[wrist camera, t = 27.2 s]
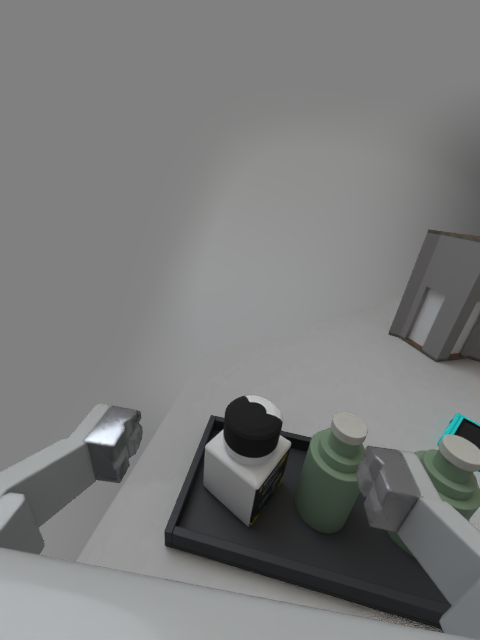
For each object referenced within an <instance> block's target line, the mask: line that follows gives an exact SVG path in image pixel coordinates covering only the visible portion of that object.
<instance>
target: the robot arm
mask: <svg viewBox="0 0 480 640" xmlns="http://www.w3.org/2000/svg"><path fill="white" fill-rule="evenodd" d="M140 419H141V412H140V411H138V410H133V409H128V408H122V407H116V406H110V405H105V404H98V405H96V406H95V407H94V408H93V409H92V410H91V412H90V413H89V414H88V415H87V417H86V418H85V419H84V420H83V421H82V422H81V424H80V425H79V426H78V427H77V428H76V430H75V431H74V432H73V433H72V434H71V436H70V437H69V438H68V439H62V440H60V441H58V442H56V443H55V444H53V445H51V446H49V447H47V448H45V449H43V450H42V451H39V452H38V453H36V454H34V455H32V456H30V457H28V458H27V459H24V460H23V461H21V462H19V463H17V464H15V465H13V466H11V467H9V468H7V469H6V470H4V471H2V472H0V640H480V531H479V530H478V529H477V528H476V527H475V526H473V525H472V524H471V523H470V522H469V521H468V520H467V519H466V518H464V517H463V516H462V515H461V514H460V513H459V512H458V511H457V510H455V509H454V508H453V507H452V506H451V505H450V504H449V503H448V502H443V501H442V500H441V498H440V496H439V494H438V492H437V491H436V489H435V487H434V485H433V483H432V482H431V480H430V478H429V476H428V474H427V472H426V471H425V469H424V467H423V465H422V463H421V462H420V460H419V458H418V456H417V455H416V454H415V453H413V452H406V451H400V450H394V449H387V448H380V447H373V446H367V447H366V448H365V450H364V452H363V454H364V457H365V459H363V460H361V461H360V462H359V464H358V467H357V483H358V487H359V491H360V492H361V493H362V494H363V495H364V497H365V498H366V500H365V502H364V508H365V512H366V515H367V518H368V522H369V525H370V527H375V528H380V529H385V530H390V531H395V532H397V534H398V536H399V537H400V538H401V540H402V541H403V542H404V544H405V545H406V546H407V548H408V549H409V550H410V551H411V553H412V554H413V555H414V557H415V558H416V559H417V561H418V562H419V563H420V565H421V566H422V567H423V569H424V570H425V571H426V573H427V574H428V575H429V577H430V578H431V579H432V581H433V582H434V583H435V585H436V586H437V587H438V589H439V590H440V591H441V592H442V594H443V595H444V596H445V598H446V599H447V600H448V602H449V603H450V604H451V607H450V608H449V609H448V610H447V611H446V612H445V613H444V614H443V615H442V617H441V619H440V621H439V622H440V625H441V628H442V630H443V633H442V632H436V631H431V630H426V629H421V628H416V627H411V626H405V625H400V624H395V623H390V622H385V621H380V620H374V619H369V618H364V617H359V616H354V615H349V614H343V613H338V612H333V611H328V610H323V609H317V608H312V607H307V606H302V605H297V604H292V603H286V602H281V601H276V600H271V599H266V598H261V597H255V596H250V595H245V594H240V593H235V592H230V591H224V590H219V589H214V588H209V587H204V586H199V585H193V584H188V583H183V582H178V581H173V580H167V579H162V578H157V577H152V576H147V575H142V574H136V573H131V572H126V571H121V570H116V569H110V568H105V567H100V566H95V565H90V564H84V563H79V562H74V561H69V560H64V559H58V558H53V557H48V556H43V555H39V554H40V553H41V551H42V550H43V548H44V540H43V538H42V535H41V533H40V531H39V527H40V526H41V525H43V524H44V523H45V522H46V521H47V520H49V519H50V518H51V517H52V516H54V515H55V514H56V513H57V512H59V511H60V510H61V509H62V508H63V507H65V506H66V505H67V504H68V503H70V502H71V501H72V500H73V499H75V498H76V497H77V496H78V495H79V494H81V493H82V492H83V491H84V490H86V489H87V488H88V487H89V486H91V485H92V484H93V483H94V482H95V481H96V480H101V481H109V482H115V483H120V482H121V481H122V479H123V476H124V475H125V473H126V471H127V469H128V467H129V465H130V464H129V458H130V457H131V456H133V455H134V454H136V452H137V450H138V448H139V446H140V442H141V439H142V427H141V425H140V424H139V421H140Z"/></svg>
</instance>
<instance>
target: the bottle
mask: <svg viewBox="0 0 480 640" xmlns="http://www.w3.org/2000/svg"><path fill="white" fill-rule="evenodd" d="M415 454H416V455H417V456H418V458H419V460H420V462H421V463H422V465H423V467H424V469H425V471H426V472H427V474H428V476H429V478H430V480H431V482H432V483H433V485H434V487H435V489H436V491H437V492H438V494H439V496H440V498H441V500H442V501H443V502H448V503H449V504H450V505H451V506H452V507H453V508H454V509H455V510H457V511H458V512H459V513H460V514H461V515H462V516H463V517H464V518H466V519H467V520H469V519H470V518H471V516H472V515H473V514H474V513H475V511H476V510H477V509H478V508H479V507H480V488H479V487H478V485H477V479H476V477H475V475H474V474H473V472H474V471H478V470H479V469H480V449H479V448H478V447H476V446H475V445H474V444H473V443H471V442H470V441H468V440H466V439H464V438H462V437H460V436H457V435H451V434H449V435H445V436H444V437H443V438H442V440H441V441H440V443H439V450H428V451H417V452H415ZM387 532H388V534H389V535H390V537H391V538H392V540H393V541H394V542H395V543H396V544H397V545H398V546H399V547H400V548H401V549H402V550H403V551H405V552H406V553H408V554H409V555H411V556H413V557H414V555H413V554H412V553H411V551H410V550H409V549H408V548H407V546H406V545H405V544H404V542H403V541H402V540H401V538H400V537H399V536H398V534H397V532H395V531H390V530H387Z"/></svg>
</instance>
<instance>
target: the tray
mask: <svg viewBox="0 0 480 640" xmlns="http://www.w3.org/2000/svg"><path fill="white" fill-rule="evenodd" d="M224 419H225V418H222V417H218V416H213V415H211V417H210V419H209V422H208V424H207V427H206V429H205V432H204V434H203V437H202V439H201V442H200V444H199V447H198V449H197V452H196V454H195V457H194V459H193V462H192V464H191V467H190V469H189V472H188V474H187V477H186V479H185V482H184V484H183V487H182V489H181V492H180V494H179V497H178V499H177V502H176V504H175V507H174V509H173V512H172V514H171V517H170V519H169V521H168V524H167V526H166V529H165V545H166V546H169V547H172V548H176V549H179V550H182V551H186V552H189V553H192V554H196V555H199V556H202V557H206V558H209V559H212V560H216V561H219V562H222V563H226V564H229V565H232V566H235V567H239V568H242V569H245V570H249V571H252V572H255V573H259V574H262V575H265V576H269V577H272V578H275V579H279V580H282V581H285V582H288V583H292V584H295V585H298V586H302V587H305V588H308V589H312V590H315V591H318V592H322V593H325V594H328V595H332V596H335V597H338V598H341V599H345V600H348V601H351V602H355V603H358V604H361V605H365V606H368V607H371V608H375V609H378V610H381V611H385V612H388V613H391V614H395V615H398V616H401V617H404V618H408V619H411V620H414V621H418V622H421V623H424V624H428V625H431V626H434V627H438V628H441V625H440V622H439V621H440V619H441V617H442V615H443V614H444V613H445V612H446V611H447V610H448V609H449V608H450V607H451V604H450V603H449V602H448V600H447V599H446V598H445V596H444V595H443V594H442V592H441V591H440V590H439V589H438V587H437V586H436V585H435V583H434V582H433V581H432V579H431V578H430V577H429V575H428V574H427V573H426V571H425V570H424V569H423V567H422V566H421V565H420V563H419V562H418V561H417V559H416V558H415V557H413V556H411V555H409V554H408V553H406V552H405V551H403V550H402V549H401V548H400V547H399V546H398V545H397V544H396V543H395V542H394V541H393V540H392V538H391V537H390V535H389V534H388V532H387V530H385V529H380V528H375V527H370V525H369V522H368V518H367V515H366V512H365V508H364V502H365V500H366V498H365V497H364V495H363V494H362V493H361V492H360V493H359V495H358V497H357V499H356V501H355V503H354V506H353V508H352V510H351V512H350V514H349V516H348V518H347V521H346V523H345V525H344V526H343V528H342V529H341V530H339V531H338V532H335V533H330V534H327V533H321V532H318V531H316V530H314V529H313V528H311V527H310V526H309V525H307V524H306V523H305V522H304V520H303V519H302V518H301V516H300V515H299V513H298V511H297V508H296V505H295V492H296V488H297V485H298V482H299V478H300V475H301V471H302V468H303V465H304V461H305V458H306V455H307V451H308V448H309V445H310V441H311V439H312V438H311V437H306V436H302V435H297V434H293V433H288V432H284V431H281V432H280V435H281V436H282V437H284V438H286V439H287V440H289V441H290V442H291V448H290V452H289V456H288V460H287V463H286V467H285V471H284V475H283V479H282V482H281V483H280V485H279V486H278V488H277V489H276V491H275V492H274V494H273V495H272V497H271V498H270V499H269V501H268V502H267V504H266V505H265V507H264V508H263V510H262V511H261V513H260V514H259V516H258V517H257V518H256V520H255V521H254V523H253V524H252V526H251V527H248V526H246V525H245V524H244V523H243V522H242V521H241V520H240V519H239V518H238V517H237V516H235V515H234V514H233V513H232V512H231V511H230V510H229V509H228V508H227V507H226V506H225V505H223V504H222V503H221V502H220V501H219V500H218V499H217V498H216V497H215V496H214V495H213V494H212V493H210V492H209V491H208V490H207V489H206V488H205V487H204V485H203V479H204V459H205V446H206V444H207V443H209V442H210V441H211V440H212V439H213V438H214V437H215V436H216V435H217V434H219V433H220V432H221V431H222V430H223V429H224ZM468 521H469V520H468ZM441 629H442V628H441Z"/></svg>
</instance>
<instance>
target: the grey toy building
mask: <svg viewBox="0 0 480 640" xmlns="http://www.w3.org/2000/svg"><path fill="white" fill-rule="evenodd" d="M389 334H390V335H393V336H396V337H399V338H401V339H402V340H404V341H405V342H407V343H408V344H410V345H411V346H413V347H414V348H416V349H417V350H419V351H420V352H422V353H423V354H425V355H426V356H428V357H429V358H431V359H432V360H434V361H435V362H438V361H446V360H454V359H463V358H470V359H474V360H477V361H480V236H472V235H465V234H458V233H450V232H443V231H436V230H428V232H427V235H426V237H425V240H424V242H423V245H422V247H421V250H420V253H419V255H418V258H417V261H416V263H415V266H414V269H413V271H412V274H411V276H410V279H409V281H408V284H407V287H406V289H405V292H404V295H403V297H402V300H401V302H400V305H399V307H398V310H397V313H396V315H395V318H394V321H393V323H392V326H391V328H390V331H389Z"/></svg>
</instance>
